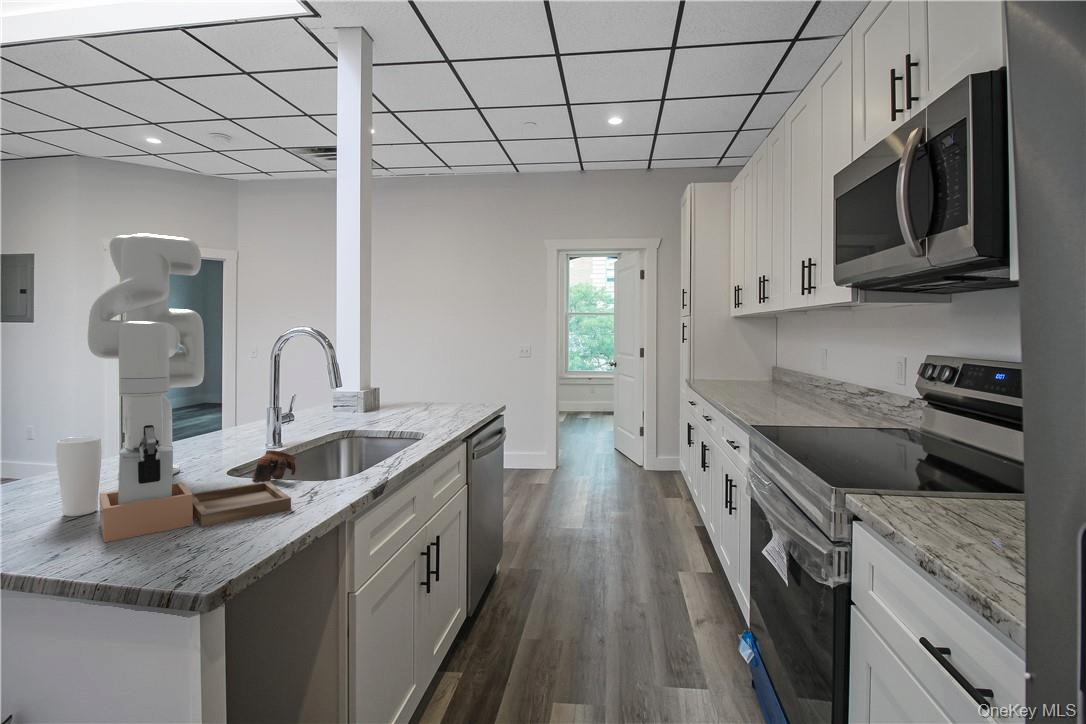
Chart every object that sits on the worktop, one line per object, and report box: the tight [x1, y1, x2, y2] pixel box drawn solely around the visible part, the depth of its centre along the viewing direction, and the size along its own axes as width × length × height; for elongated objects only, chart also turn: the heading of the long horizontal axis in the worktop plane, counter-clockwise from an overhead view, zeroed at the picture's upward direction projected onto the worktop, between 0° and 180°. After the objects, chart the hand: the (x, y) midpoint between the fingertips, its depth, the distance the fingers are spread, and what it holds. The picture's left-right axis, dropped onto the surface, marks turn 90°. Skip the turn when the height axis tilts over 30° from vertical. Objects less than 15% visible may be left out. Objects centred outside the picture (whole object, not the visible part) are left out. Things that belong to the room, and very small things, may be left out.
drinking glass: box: [55, 435, 103, 517], centre depth 104 cm, size 7×7×15 cm
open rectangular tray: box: [99, 481, 194, 543], centre depth 99 cm, size 11×13×6 cm
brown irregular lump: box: [252, 450, 297, 483], centre depth 131 cm, size 12×10×8 cm
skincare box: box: [117, 445, 174, 505], centre depth 98 cm, size 8×6×15 cm
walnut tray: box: [191, 481, 292, 528], centre depth 109 cm, size 16×16×2 cm
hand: (146, 476), depth 98 cm, fingers open, 9 cm apart
